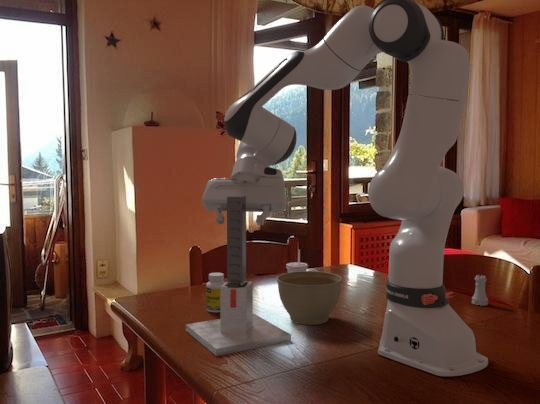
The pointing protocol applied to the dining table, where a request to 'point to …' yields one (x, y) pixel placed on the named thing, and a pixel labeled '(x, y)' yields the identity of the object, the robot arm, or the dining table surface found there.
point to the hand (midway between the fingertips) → (239, 223)
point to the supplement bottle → (214, 292)
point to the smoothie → (296, 265)
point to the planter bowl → (309, 295)
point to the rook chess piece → (480, 291)
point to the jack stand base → (236, 324)
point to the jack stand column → (236, 240)
